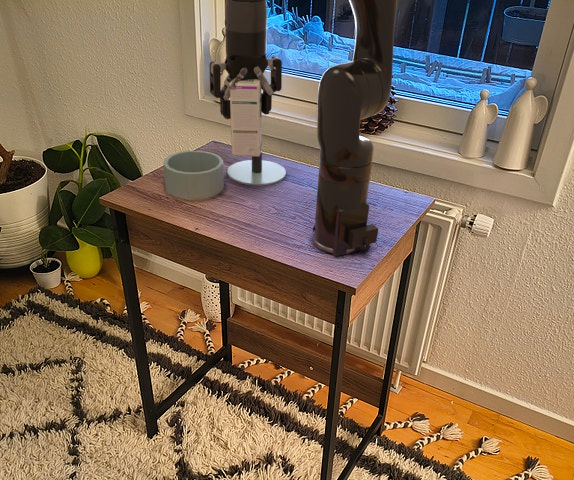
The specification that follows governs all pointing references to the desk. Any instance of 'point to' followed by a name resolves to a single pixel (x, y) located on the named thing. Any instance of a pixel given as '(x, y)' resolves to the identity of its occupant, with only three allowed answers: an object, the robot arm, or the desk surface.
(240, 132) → the syrup box
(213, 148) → the desk surface
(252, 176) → the lid
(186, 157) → the pot
